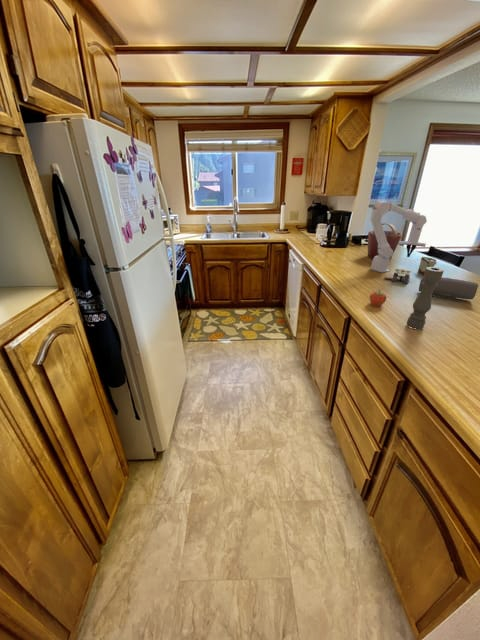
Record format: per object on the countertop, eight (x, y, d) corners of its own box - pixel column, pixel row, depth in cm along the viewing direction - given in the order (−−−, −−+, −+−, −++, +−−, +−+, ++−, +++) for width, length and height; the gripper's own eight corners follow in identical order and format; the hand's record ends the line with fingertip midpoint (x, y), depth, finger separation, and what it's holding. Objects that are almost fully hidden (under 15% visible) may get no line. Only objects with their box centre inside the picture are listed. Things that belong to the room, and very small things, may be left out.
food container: (435, 278, 162) (441, 262, 157) (424, 277, 163) (429, 261, 158) (427, 272, 173) (432, 257, 168) (416, 271, 174) (421, 256, 169)
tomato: (383, 309, 125) (387, 294, 122) (366, 306, 129) (370, 290, 125) (385, 303, 131) (389, 288, 127) (369, 300, 134) (372, 286, 131)
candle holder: (402, 323, 114) (421, 266, 102) (416, 322, 114) (436, 266, 102) (412, 330, 108) (433, 272, 96) (426, 329, 109) (449, 271, 97)
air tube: (384, 279, 162) (385, 274, 160) (384, 277, 164) (386, 272, 163) (408, 282, 156) (410, 277, 154) (408, 281, 158) (410, 276, 156)
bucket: (361, 253, 216) (367, 221, 204) (389, 254, 213) (398, 221, 201) (369, 261, 195) (377, 226, 183) (401, 262, 192) (411, 226, 180)
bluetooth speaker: (468, 297, 136) (476, 279, 131) (471, 304, 129) (480, 285, 124) (417, 289, 146) (423, 272, 142) (417, 295, 139) (423, 277, 135)
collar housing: (391, 281, 158) (394, 272, 155) (393, 277, 164) (395, 268, 161) (406, 284, 154) (410, 274, 151) (407, 279, 160) (410, 270, 157)
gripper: (401, 235, 165) (395, 256, 172) (428, 237, 158) (421, 259, 165) (401, 233, 170) (396, 254, 177) (428, 235, 164) (421, 257, 170)
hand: (408, 256), depth 171 cm, fingers closed
